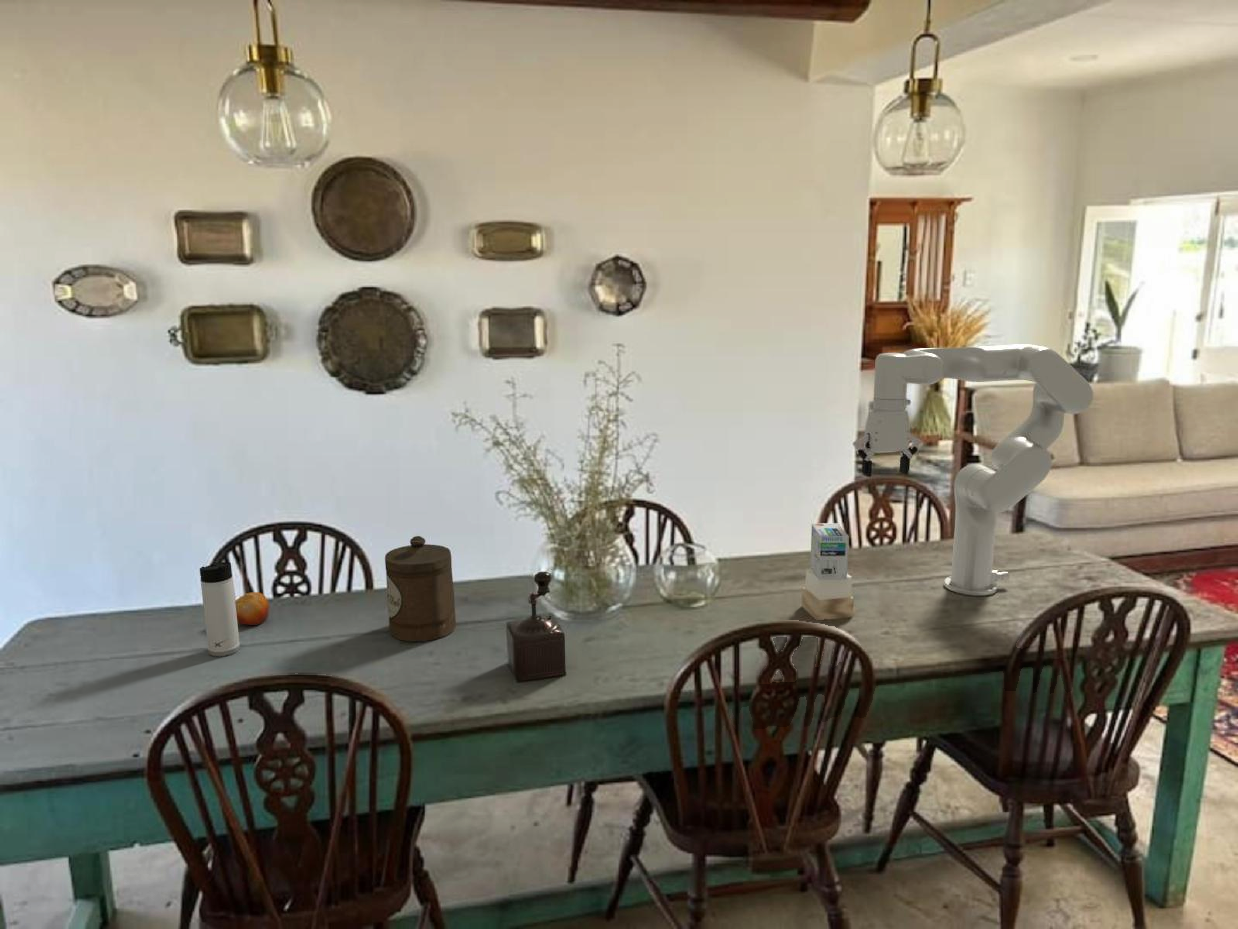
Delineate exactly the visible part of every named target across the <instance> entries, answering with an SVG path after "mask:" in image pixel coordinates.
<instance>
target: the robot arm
mask: <svg viewBox="0 0 1238 929" xmlns="http://www.w3.org/2000/svg"><path fill="white" fill-rule="evenodd" d="M874 363H875V367H874V382H873V383H874V384H873V386H874V387H873V400H872V401H873V402H872V403H873V404H872V409H870V410H868V411H869V412H868V414H867V417H866V418H867V419H866V422H865V427H864V435H863V436H862V437H860V438H858V439H857V440H855V441H853V442H852V446H853V447H854V448H853V449H854V450H855V452H856V454H857V455H858V457H860V458H861V460H862V461H861V462H862V463H861V472H862V475H863V476H865V477H867V478H871V477H872V474H873V473H872V472H873V471H872V469H873V461H872V460H871V459H872V458H873V457H874V455H875V454H880V453H900V454H901V456H900V458H899V471H898V472H899V473H900V474H903V475H905V476H908V475H909V471H910V468H911V464H910V463H911V459H913V456H914V454H915V453H917V451H918V448H919V447H920V445H921V444H922V439H920V438H918V437H917V436H914V435H912V434H911V432H910V431H911V429H910V428H911V426H910V418H909V411H908V410H906V409H907V406H910V405H911V399H908V398H907V393H908V390H907V389H908V384H913V385H921V386H930V385H933V384H936V383H938V382H939V381H941V379H951V380H952V379H953V380H959V381H964V382H973V383H988V382H999V381H1002V382H1004V381H1019V380H1020V381H1022V380H1024V381H1029V382H1032V383H1034V385H1033V388H1032V389H1033V390H1032V408H1031V411H1030V414H1029V415H1028V416H1027V418H1025V420H1024V421H1023V422H1022V423H1021V424H1019V425H1018V426H1017V427H1016V428H1015V429H1013V431H1011V432H1010V433H1009V434H1008V435H1007V436H1006V437H1005V438H1003V439H1002V440H1001V441H1000V442H998V444H997V445H996V446H995V447H994V448H993V450H992V452H991V455H990V460H991V463H992V465H993V466H994V467H995V468H996V469H997V470H995V469H992V468H990V467H988V466H986V465H982V464H976V463H975V464H974V463H973V464H968V465H966V466H964V467H962V468H961V469H960V470H959V471H958V472H957V474H956V476H955V479H954V482H953V484H954V487H953V489H954V490H953V492H954V501H955V503H954V504H955V515H954V516H955V520H954V534H953V548H952V560H951V561H952V562H951V574H950V576H948V577H946V578H944V580H943V585H944V587H945V588H946V589H947V590H950V591H952V592H954V593H957V594H961V595H967V596H977V597H978V596H979V597H980V596H981V597H982V596H989V595H993V594H995V593H996V592H997V591H998V585H997V583H996V582H998V581H1000V580H1001V581H1005V580H1009V578H1010V574H1009V572H1008V571H1002V572H1001V571H1000V572H999V571H998V570H996V569H995V570H993V560H994V549H995V537H996V530H997V529H996V526H997V514H1000V513H1003V512H1006V511H1008V510H1009V509H1011V508H1013V507H1014V506H1015V505H1017V504H1018V503H1019V502H1020V501H1021V500H1022V499H1024V498H1025V497H1026V496H1027V495H1028V494H1030V493H1031V492H1032V491H1033V490H1034V489H1035V488H1037V487H1038V486H1039V485H1040V484H1041V483H1042V482H1043V481H1044V480H1045V479H1046V478H1047V476H1048V475H1049V473H1050V471H1051V467H1052V464H1053V463H1052V456H1051V453H1050V452H1049V450H1048V449H1049V447H1050V446H1051V445H1053V444H1054V443H1055V442H1056V440H1058V438H1059V437H1060V435H1061V434H1062V431H1063V428H1064V422H1065V421H1064V420H1065V414H1069V415H1076V414H1081V413H1083V412H1085V411H1087V410H1088V409H1089V408H1090V406H1091V405H1092V404H1093V403H1092V402H1093V399H1094V391H1093V388H1092V386H1091V384H1090V383H1089V382H1088V381H1087V380H1086V378H1085V377H1084V376H1082V375H1081V374H1080V373H1079V372H1078V370H1076V369H1075V368H1074V367H1073V366H1072V365H1071V364H1070V363H1069V362H1068V361H1067V360H1066V359H1065V358H1064V357H1062V355H1060V354H1059V353H1058V352H1057V351H1056V350H1054V349H1052V348H1049V347H1046V346H1041V345H1035V344H1025V343H1023V344H1022V343H1021V344H1005V345H987V346H960V347H930V348H929V347H928V348H927V347H925V348H913V349H909V350H906V351H903V353H899V352H884V353H879V354H877V356H876V357H875V362H874ZM910 442H912V444H911V445H910ZM862 446H863V448H864V449H865V450H863V448H862Z"/></svg>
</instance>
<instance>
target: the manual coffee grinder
mask: <svg viewBox="0 0 1238 929" xmlns="http://www.w3.org/2000/svg"><path fill="white" fill-rule="evenodd" d="M552 580H553V576H552V574H551V573H550V572H549V571H539V572H537V573H535V574H534V576H533V581H534V583H535V584H536V585H537V587H538V588H537V591H536V593H534V592H532V593H530V595H529V596H528V597H526V601H527V602H528V604H529V605H531V606H530V607H531V615H530V616H528V617H525V618H523V619H516V620H510V621H506V622H505V628H506V630H505V631H506V632H505V633H506V647H507V649H506V650H507V657H508V658H507V662H508V667H509V669H510V672H511V674H512V676H513V678H514V680H516V682H517V684H518V683H527V682H534V681H542V680H548V679H554V678H555V679H556V678H561V677H566V676H567V672H566V669H567V668H566V637H565V636H566V635H565V632H564V631H563V628H562V627H561V625H560V624H559V622H558V621H557V619H556V618H555V617H554V615H552V614H550V615H546V616H545V615H540V614H538V615H537V604H538V599H537V598H540V597H541V596H542V597H545V596H546V595H547V594H549V593H551V590H550V587H549V586H550V584H551V582H552Z"/></svg>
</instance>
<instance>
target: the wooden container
mask: <svg viewBox="0 0 1238 929" xmlns="http://www.w3.org/2000/svg"><path fill="white" fill-rule="evenodd" d="M409 542H410V543H409V544H410V545H405V546H401V547H397V548H394V549H391V550H389V551H388V552H387V553H385V556H384V565H385V575H386V576H385V577H386V596H387V600H386V601H387V610H388V611H387V612H388V613H387V614H388V622H389V623H388V624H389V633H390V635H391V636H392V637H393V638H394V639H398V640H401V641H404V642H414V643H415V642H416V643H417V642H428V641H433V640H437V639H441V638H444V637H446V636H448V635H450V634H451V633H453V631H455V630H456V628H457V625H456V624H457V623H456V622H457V621H456V608H455V606H456V604H455V592H454V591H455V590H454V582H453V580H454V579H453V566H452V564H453V563H452V553H451V549H450V548H448V547H446V546H443V545H438V544H427V543H426V539H425V538H424V537H422V536H420V535H415V536H413V537H412V538H410V540H409Z"/></svg>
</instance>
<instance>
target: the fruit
mask: <svg viewBox="0 0 1238 929" xmlns="http://www.w3.org/2000/svg"><path fill="white" fill-rule="evenodd" d="M235 605H236V615H237V623H240V624H242V625H246V626H259V625H261V624H264V623H265V622H267V619H269V612H270V611H269V610H270V605H269V601H268V599H267V597H266V595H265V594H263V593H262V592H257V591H255V592H247V593H245V594H243V595H241V596H239V597H238V598H237V599H235Z"/></svg>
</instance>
